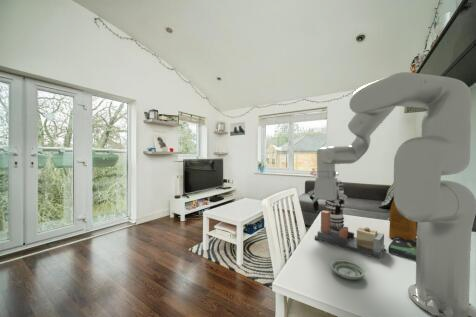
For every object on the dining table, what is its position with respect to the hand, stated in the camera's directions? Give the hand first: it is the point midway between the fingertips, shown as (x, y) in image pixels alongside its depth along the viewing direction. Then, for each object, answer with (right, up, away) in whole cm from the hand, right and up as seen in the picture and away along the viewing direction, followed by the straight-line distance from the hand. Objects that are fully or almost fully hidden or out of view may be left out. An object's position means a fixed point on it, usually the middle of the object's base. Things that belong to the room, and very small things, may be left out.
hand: (326, 212), depth 91 cm
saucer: (-6, -13, -28) cm, 31 cm away
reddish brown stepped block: (+2, -10, -2) cm, 10 cm away
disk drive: (+27, -13, -12) cm, 32 cm away
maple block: (+11, -11, -11) cm, 19 cm away
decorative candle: (+8, -12, +9) cm, 17 cm away
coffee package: (+35, -12, 0) cm, 37 cm away
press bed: (+6, -12, -6) cm, 15 cm away
